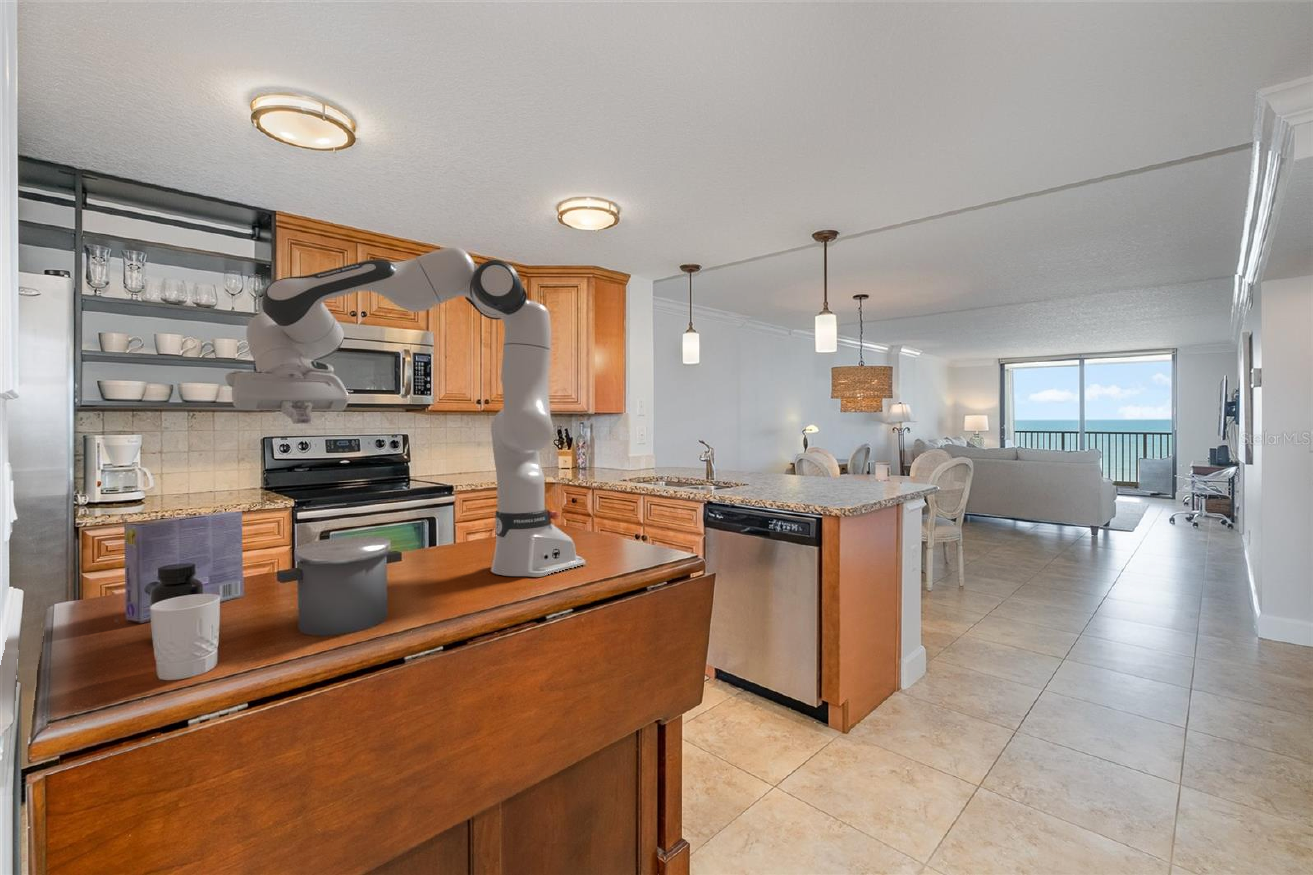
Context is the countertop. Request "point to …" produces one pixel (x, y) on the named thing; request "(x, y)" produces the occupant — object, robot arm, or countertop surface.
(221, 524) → the cake pan box
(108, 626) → the countertop surface
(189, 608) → the white cup
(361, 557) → the lid
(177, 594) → the supplement bottle
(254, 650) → the countertop surface
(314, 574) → the gray cooking pot
